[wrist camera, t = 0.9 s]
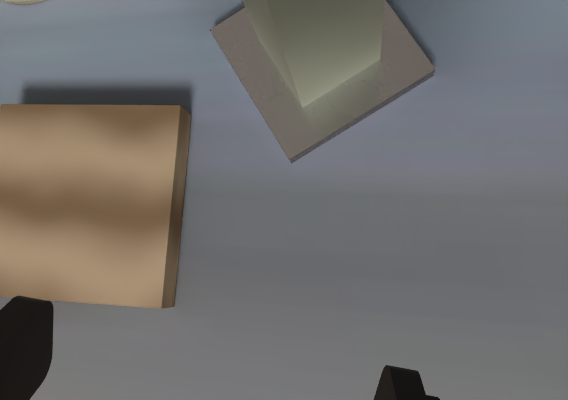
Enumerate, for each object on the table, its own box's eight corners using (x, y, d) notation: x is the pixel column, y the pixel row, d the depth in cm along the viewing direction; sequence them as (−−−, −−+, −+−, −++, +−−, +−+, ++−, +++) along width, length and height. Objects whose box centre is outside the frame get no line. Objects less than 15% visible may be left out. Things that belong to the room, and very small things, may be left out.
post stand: (214, 37, 33) (147, -74, 22) (345, -47, 32) (337, -199, 22) (291, 163, 31) (256, 104, 20) (433, 75, 30) (470, -30, 20)
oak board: (22, 114, 34) (1, 104, 32) (191, 115, 32) (180, 105, 30) (-4, 293, 32) (-28, 294, 30) (174, 306, 30) (161, 308, 28)
